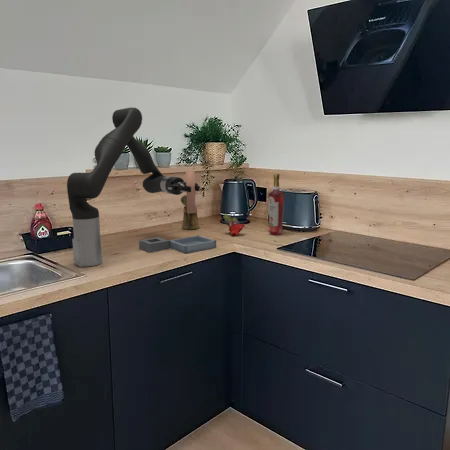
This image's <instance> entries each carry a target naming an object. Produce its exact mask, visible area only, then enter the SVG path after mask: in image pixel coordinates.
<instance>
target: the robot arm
mask: <svg viewBox="0 0 450 450" xmlns="http://www.w3.org/2000/svg"><path fill="white" fill-rule="evenodd" d="M111 118H112V119H111V120H112V124H113V125H114V129H113V130H111V131H109V132H107V134H105V135H103V137H102V138H101V139H100V140H99V142H98V143H97V145H96V146H95V149H94V159H95V162H96V166H95V167H94V169H93V170H92V171H91V172H73V173H70V174H69V175H68V178H67V181H66V191H67V192H66V193H67V199H68V204H69V205H68V206H69V210H70V212H71V217H72V230H73V238H71V239H72V240H71V242H72V253H73V262H74V265H76V266H77V267H80V268H83V267H95V266H99V265H101V264H102V263H103V253H102V252H103V251H102V249H103V248H102V238H101V224H100V223H101V222H100V211H99V208H97V207H95V206H93V205H91V204H90V203H89V202H87V200H88V199H89V200H91V199H92V200H93V199H96V198H98V197H99V196H100V194H101V193H102V191H103V189H104V187H105V184H106V183H107V180H108V177H109V176H110V174H111V171H112V170H113V168H114V166H115V164H116V163H117V161H118V160H119V159H120V158H121V155H122V154H123V153H124V150H125V149H126V146H127V148H128V149H129V151H130V153H131V154H132V156H133V158H134V159H135V162H136V165H137V166H138V169H139V171H140V173H141V174H143V175H147V174H150V175H148V176H147V177H145V179H144V180H143V181H142V188H143V189H144V190H145V191H146V192H147V193H150V194H155V193H156V194H157V193H160V192H163V193H166V194H170V195H174V196H179V195H181V194H183V193H184V192H186V193H187V192H191V186H186V181H184V179H183V178H182V177H180V176H171V175H169V176H168V175H164V174H163V173H162V172H161V171H160V170H159V168H158V167H157V166H156V164H155V162H154V160H153V157H152V155H151V152H150V151H149V150H148V149H147V148H146V147H145V146H144V145H143V144H142V143H141V142H140V141H138V140H137V138H136V137H135V134H136V133H137V131H139V129H140V128H141V125H142V123H143V114H142V112H141V111H140V109H139V108H136V107H126V108H120V109H116V110H114V112H113V113H112V117H111ZM200 190H201V187H200V185H199V183H196V182H195V192H200Z"/></svg>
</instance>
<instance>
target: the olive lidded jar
mask: <svg viewBox="0 0 450 450" xmlns="http://www.w3.org/2000/svg"><path fill="white" fill-rule="evenodd" d="M180 202H181V204H182V205H183V206H184V208H183V211H182V212H183V217H182V225H181V229H182V230H185V229H186V230H187V231H190V230H191V231H195V230H198V229H200V223H199V218H198V216H199V215H198V208H197V206H196V205H195V210H196V213H187V194H185V195H182V196H181V197H180Z"/></svg>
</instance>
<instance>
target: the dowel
mask: <svg viewBox="0 0 450 450" xmlns="http://www.w3.org/2000/svg"><path fill="white" fill-rule="evenodd" d="M195 177H196V176H195V170H185V179H186V180H185V182H186V186H191V192H186V195H187V213H196V210H195V206H196V191H195V183H196V182H195Z"/></svg>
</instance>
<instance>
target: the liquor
mask: <svg viewBox="0 0 450 450" xmlns="http://www.w3.org/2000/svg"><path fill="white" fill-rule="evenodd" d="M267 196H268V215H269V216H268V217H269V230H268V232H269V233H270V235H273V236H280V235H282V234H283V233H284V230H283V229H284V228H283V226H284V224H283V223H284V208H285V193H284V192H283V191H281V190H280V173H273V187H272V191H270V192H269V193H268V195H267Z"/></svg>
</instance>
